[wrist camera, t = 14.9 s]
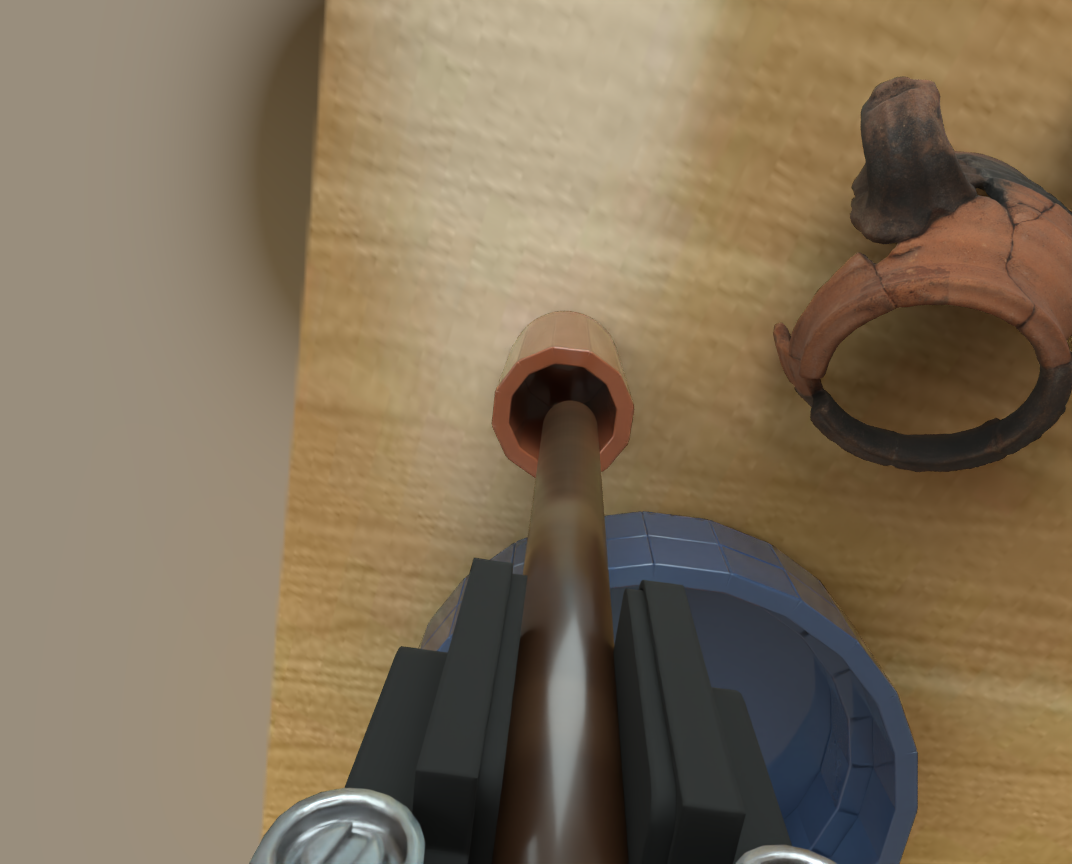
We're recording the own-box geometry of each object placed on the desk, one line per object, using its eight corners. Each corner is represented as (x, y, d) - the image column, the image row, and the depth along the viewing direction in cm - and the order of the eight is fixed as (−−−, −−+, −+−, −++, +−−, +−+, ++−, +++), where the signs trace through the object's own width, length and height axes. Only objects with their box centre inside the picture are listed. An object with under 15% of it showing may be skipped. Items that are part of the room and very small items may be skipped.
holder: (505, 408, 29) (486, 473, 22) (517, 304, 28) (500, 339, 21) (609, 421, 29) (621, 490, 22) (625, 317, 28) (643, 357, 21)
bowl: (395, 862, 36) (369, 964, 31) (426, 477, 30) (399, 531, 25) (808, 915, 36) (845, 1026, 31) (921, 539, 30) (987, 605, 25)
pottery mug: (1095, 306, 28) (1148, 465, 22) (828, 371, 33) (816, 512, 27) (1024, -29, 22) (1072, 71, 16) (715, 115, 27) (671, 227, 22)
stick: (541, 441, 20) (439, 1222, 5) (546, 391, 20) (449, 1092, 5) (593, 447, 20) (640, 1248, 5) (599, 396, 20) (669, 1116, 5)
